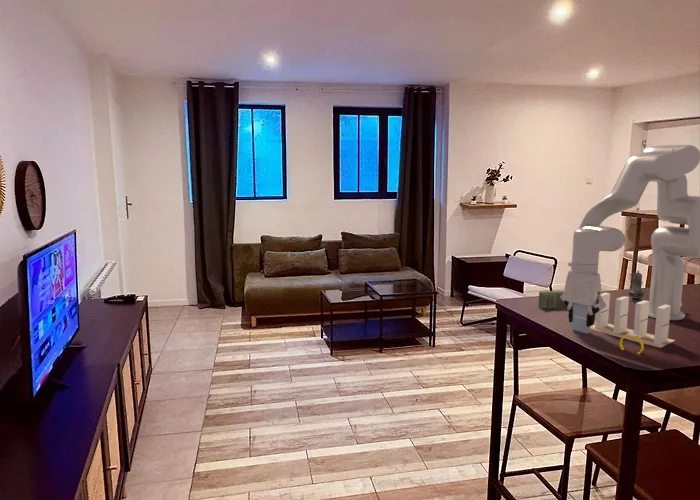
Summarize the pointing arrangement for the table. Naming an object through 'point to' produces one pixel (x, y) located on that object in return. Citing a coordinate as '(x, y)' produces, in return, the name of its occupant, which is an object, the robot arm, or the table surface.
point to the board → (646, 339)
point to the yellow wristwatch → (632, 335)
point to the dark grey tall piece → (636, 288)
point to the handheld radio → (551, 300)
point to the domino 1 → (580, 318)
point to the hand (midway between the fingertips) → (581, 323)
